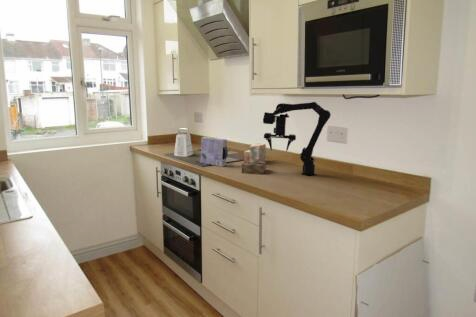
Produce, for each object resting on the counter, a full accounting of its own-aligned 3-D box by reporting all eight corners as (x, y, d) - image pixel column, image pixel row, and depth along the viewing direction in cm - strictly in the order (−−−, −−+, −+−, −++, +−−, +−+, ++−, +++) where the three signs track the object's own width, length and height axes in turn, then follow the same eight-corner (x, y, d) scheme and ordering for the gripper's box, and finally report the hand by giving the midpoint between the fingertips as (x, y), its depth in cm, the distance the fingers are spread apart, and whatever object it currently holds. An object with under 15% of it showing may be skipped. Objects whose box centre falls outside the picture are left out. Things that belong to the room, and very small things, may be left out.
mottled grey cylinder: (258, 169, 213) (259, 146, 211) (257, 170, 210) (258, 147, 207) (250, 168, 214) (251, 146, 212) (249, 169, 211) (250, 147, 208)
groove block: (265, 169, 217) (266, 161, 216) (263, 174, 205) (263, 165, 204) (245, 168, 219) (245, 160, 218) (241, 172, 208) (241, 164, 207)
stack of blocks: (252, 166, 226) (252, 147, 224) (243, 165, 229) (243, 147, 227) (265, 161, 245) (265, 143, 242) (257, 160, 247) (257, 143, 245)
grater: (186, 156, 256) (186, 129, 252) (174, 155, 259) (173, 128, 256) (192, 154, 266) (192, 128, 262) (180, 153, 269) (180, 127, 265)
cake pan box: (228, 165, 227) (228, 138, 223) (223, 167, 223) (223, 139, 219) (204, 162, 237) (204, 136, 234) (200, 163, 233) (200, 137, 229)
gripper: (296, 124, 212) (294, 149, 215) (266, 122, 215) (264, 147, 218) (296, 126, 201) (294, 152, 204) (264, 124, 204) (262, 150, 207)
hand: (278, 150), depth 209 cm, fingers open, 9 cm apart
